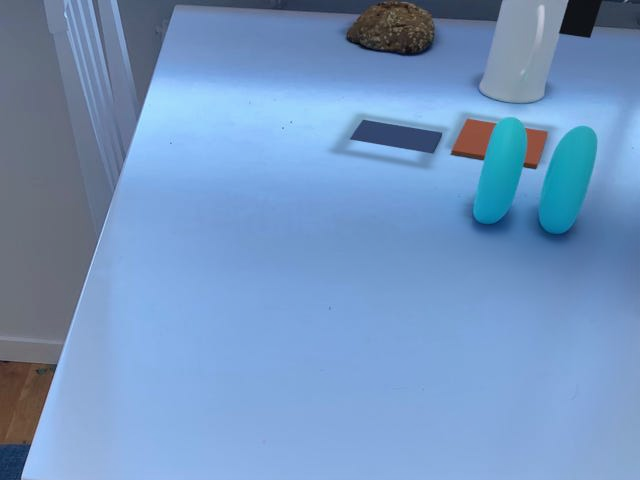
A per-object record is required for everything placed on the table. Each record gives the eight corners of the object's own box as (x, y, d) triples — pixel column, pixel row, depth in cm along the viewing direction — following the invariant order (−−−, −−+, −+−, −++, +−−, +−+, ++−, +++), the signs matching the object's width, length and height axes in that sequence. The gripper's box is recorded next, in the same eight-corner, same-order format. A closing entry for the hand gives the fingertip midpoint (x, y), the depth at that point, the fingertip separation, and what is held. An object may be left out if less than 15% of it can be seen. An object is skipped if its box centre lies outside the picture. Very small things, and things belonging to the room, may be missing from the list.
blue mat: (441, 136, 115) (442, 132, 115) (422, 173, 108) (423, 169, 108) (362, 123, 118) (362, 119, 117) (338, 158, 110) (338, 154, 110)
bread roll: (438, 33, 143) (446, -6, 139) (427, 58, 135) (436, 18, 131) (354, 23, 145) (360, -15, 141) (339, 47, 137) (345, 7, 133)
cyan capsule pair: (472, 199, 104) (499, 100, 96) (566, 212, 102) (600, 112, 95) (467, 239, 97) (495, 136, 90) (567, 253, 96) (603, 150, 88)
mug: (546, 115, 121) (579, 6, 112) (479, 108, 122) (506, 0, 113) (541, 84, 129) (572, -20, 120) (478, 78, 130) (503, -26, 121)
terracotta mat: (547, 135, 116) (548, 131, 116) (536, 168, 110) (537, 164, 109) (466, 122, 119) (467, 118, 118) (450, 154, 112) (451, 149, 112)
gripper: (643, -321, 80) (559, -25, 96) (617, -303, 65) (522, 46, 81) (737, -316, 78) (635, -15, 94) (733, -296, 63) (612, 60, 79)
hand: (583, 14), depth 88 cm, fingers open, 13 cm apart
